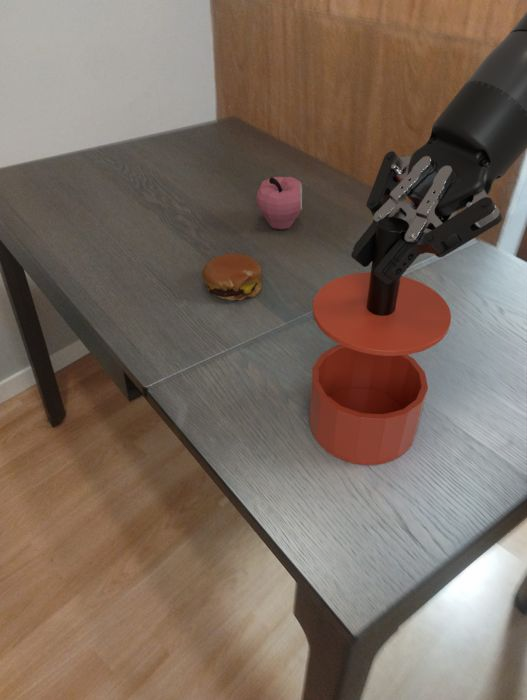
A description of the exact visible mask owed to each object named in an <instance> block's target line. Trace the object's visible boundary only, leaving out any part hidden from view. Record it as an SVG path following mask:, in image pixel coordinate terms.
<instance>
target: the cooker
mask: <svg viewBox="0 0 527 700" xmlns="http://www.w3.org/2000/svg"><path fill="white" fill-rule="evenodd" d="M310 386H311V387H310V388H311V389H310V401H309V402H310V404H309V405H310V406H309V428H310V432H311V433H312V436H313V437H314V439H315V441H316V442H317V443H318V444H319V446H320V447H321V448H322V449H323V450H325V451H326V452H327V453H329V454H330V455H331V456H332V457H335V458H338V459H340V460H341V461H344V462H347V463H351V464H355V465H362V466H375V465H382V464H383V465H384V464H387V463H391V462H393V461H395V460H397V459H399V458H400V457H402V456H404V455H405V454H406V453H407V451H409V449H410V448H411V447H412V445H413V444H414V441H415V439H416V435H417V432H418V431H419V430H418V429H419V426H420V422H421V418H422V413H423V410H424V406H425V401H426V398H427V395H428V394H427V393H428V391H429V384H428V381H427V376H426V372H425V370H424V369H423V368H422V367H421V365H420V364H419V363H418V362H417V361H416V359H415V358H413V357H412V356H410V354H408V355H400V356H382V355H373V354H367V353H363V352H359V351H355V350H353V349H350V348H347V347H345V346H343V345H340V344H336V345H334V346H332V347H331V348H329V349H327V350H326V351H323V352H322V353H321V354H319V357H318V358H317V360H316V361H315V363H314V364H313V366H312V371H311V385H310Z"/></svg>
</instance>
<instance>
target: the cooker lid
mask: <svg viewBox="0 0 527 700" xmlns="http://www.w3.org/2000/svg"><path fill="white" fill-rule="evenodd" d="M409 227H410V223H409V222H408V220H407V221H405V220H403V219H400V218H395V217H387V218H383V219H380V220H379V221H378V222H377V228H376V235H375V243H374V251H373V259H372V262H371V267H370V272H368V271H366V272H357V273H351V274H347V275H344V276H340V277H337V278H335V279H333V280H331V281H329V282H328V283H326V284H325V285H323V286H322V287H321V288H320V289H319V290H318V291H317V292H316V295H315V296H314V299H313V301H312V316H313V318H314V322H315V323H316V325H317V327H318V328H319V329H320V331H321V332H322V333H323V334H325V336H327V337H328V338H329V339H330V340H332V341H334V342H335V343H337V344H338V345H343V346H345V347H347V348H350V349H353V350H355V351H359V352H363V353H367V354H373V355H382V356H400V355H412V354H418V353H420V352H424V351H426V350H429V349H431V348H433V347H434V346H436V345H437V344H438V343H440V342H441V341H442V340H443V339H444V338H445V337H446V336H447V334H448V332H449V330H450V326H451V323H452V313H451V309H450V307H449V305H448V303H447V302H446V300H445V299H444V298H443V297H442V296H441V294H439V293H438V292H437V291H436V290H435V289H433V288H431V287H430V286H428V285H426V284H424V283H423V282H420V281H417V280H416V279H413V278H410V277H407V276H405V275H404V276H403V275H402V276H401V277H400V278H399V279H398V280H396V281H392V282H391V283H390V284H386V283H384V282H383V281H382V280H381V279H379V278H378V277H377V276H376V275H375V274H374V270H375V268H376V267H377V265H378V264H379V263H380V262H381V261H382V259H383V258H384V257H385V256H386V255H387V253H388V252H389V251H390V250H391V248H392V247H393V246H394V245H395V244H396V242H397V241H398V240H399V239H401V240H403V241H404V240H405V234H406V232H407V231H408V229H409Z"/></svg>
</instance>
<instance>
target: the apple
mask: <svg viewBox="0 0 527 700" xmlns="http://www.w3.org/2000/svg"><path fill="white" fill-rule="evenodd" d="M255 197H256V198H255V200H256V205H257V207H258V209H259V211H260V212H261V214H262V215H263V217H264V219H265V220H266V222H267V224H268V225H269V226H270V227H271V228H272V229H275V230H285V229H291V227H292V225H293V224H294V222H295V221H296V219H297V218H298V216H299V215H300V214H301V212H302V210H303V185H302V182H301V181H300V180H298V179H297V178H295V177H293V176H274V177H270V178H267V179H264V180H263V181H262V182H261V184H260V185H259V188H258V190H257V192H256V196H255Z"/></svg>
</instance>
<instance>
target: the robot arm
mask: <svg viewBox="0 0 527 700" xmlns="http://www.w3.org/2000/svg"><path fill="white" fill-rule="evenodd" d="M525 150H527V11H526V12H525V13H524V14H523V16H521V18H520V19H519V21H518V22H517V23H516V24H515V26H514V27H513V28H512V30H511V31H510V32H509V33H508V34H507V35H506V36H505V37H504V39H502V41H501V42H500V43H499V44H498V45H496V47H495V48H494V49H493V50H492V51H490V52H489V54H488V55H487V56H486V57H485V58H484V60H483V61H482V62H481V63H480V64H479V65H478V67H477V68H476V70H475V71H474V72H473V73H472V75H471V76H470V77H469V78H468V79H467V80H466V82H465V83H464V85H463V86H461V88H460V89H459V91H458V92H457V93H456V95H455V96H454V97H453V98H452V100H451V101H450V102H449V104H448V105H447V106H445V108H444V110H443V111H441V113H440V115H439V116H438V117H437V119H436V120H435V121H434V122H433V124H432V126H431V132H430V136H429V139H428V140H427V142H426V143H424V144H423V145H422V146H421V147H419V148H418V149H416V150H415V151H413V153H412V154H411V155H406V156H398V155H397V154H396V152H395V151H393V150H392V151H391V150H390V151H388V152H387V153H386V154H385V155H384V157H383V159H382V162H381V165H380V167H379V170H378V173H377V175H376V178H375V180H374V183H373V186H372V188H371V191H370V193H369V196H368V199H367V202H366V207H367V208H368V210H369V211H370V213H371V215H372V216H373V217H372V218H373V220H372V222H371V223H370V225H369V226H368V227H367V229H366V230H365V232H364V233H362V235H361V236H360V237H359V239H357V241H356V242H355V243H354V246H353V248H352V251H351V255H350V256H351V258H352V259H353V260H355V262H357V263H358V264H360V265H361V266H362V267H363V268H367V267H368V266H370V264H372V259H373V251H374V243H375V235H376V228H377V222H378V221H379V220H380V219H383V218H387V217H395V218H400V219H403V220H405V221H407V222H408V220H410V219H413V221H412V223H411V224H410V225H409V229H408V231H407V232H406V234H405V240H404V241H403V240H401V239H399V240H398V241H397V242H396V244H395V245H394V246H393V247H392V248H391V250H390V251H389V252H388V253H387V255H386V256H385V257H384V258H383V259H382V261H381V262H380V263H379V264H378V265H377V267H376V268H375V270H374V274H375V275H376V276H377V277H378V278H379V279H381V280H382V281H383V282H384V283H386V284H390V283H391V282H392V281H396V280H398V279H399V278H400V277H401V276H403V275H404V273H406V271H407V270H408V269H409V268H410V267H411V265H412V264H413V263H414V262H415V260H416V259H417V258H418V257H419V256H420V255H424V254H432V255H435V256H436V257H437V258H443V257H445V256H447V255H449V254H450V253H452V252H453V251H455V250H457V249H459V248H460V247H462V246H464V245H465V244H467V243H468V242H470V241H472V240H474V239H475V238H477V237H479V236H480V235H483V234H484V233H486V232H487V231H488V230H491V229H492V228H494V227H495V226H497V225H499V224H500V223H501V221H502V220H503V215H502V213H501V212H500V209H499V208H498V206H497V204H496V203H495V202H494V201H493V200H492V198H491V197H489V194H490V193H491V191H492V186H493V184H494V182H495V181H497V180H499V179H502V178H503V177H504V176H505V175H506V173H508V171H509V170H510V169H511V167H513V165H514V164H515V163H516V162H517V161H518V159H519V158H520V157H521V155H522V154H523V153H524V152H525ZM407 198H408V199H409V200H410V201H411V202H408V201H407Z"/></svg>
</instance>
